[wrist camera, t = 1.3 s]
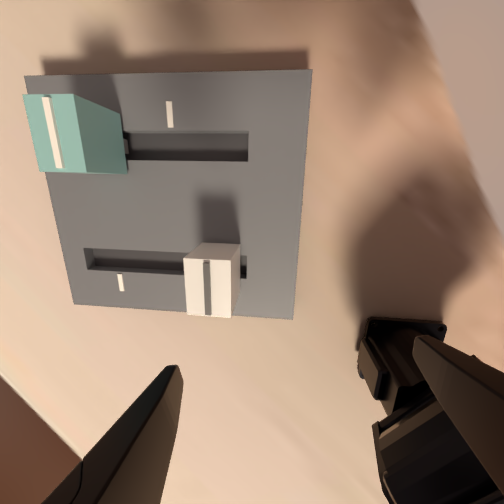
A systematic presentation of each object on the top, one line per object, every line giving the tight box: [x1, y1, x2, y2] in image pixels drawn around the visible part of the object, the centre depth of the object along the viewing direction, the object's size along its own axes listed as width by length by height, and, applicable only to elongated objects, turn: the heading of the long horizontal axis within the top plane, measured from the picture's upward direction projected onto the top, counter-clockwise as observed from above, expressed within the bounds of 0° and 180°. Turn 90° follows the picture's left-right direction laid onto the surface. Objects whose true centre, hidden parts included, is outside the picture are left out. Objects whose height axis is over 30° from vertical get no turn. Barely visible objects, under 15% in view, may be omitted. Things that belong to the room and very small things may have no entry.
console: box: [24, 69, 313, 320], centre depth 19 cm, size 20×18×2 cm
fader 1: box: [23, 94, 129, 174], centre depth 16 cm, size 3×4×5 cm
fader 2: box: [183, 242, 240, 318], centre depth 18 cm, size 3×4×5 cm
